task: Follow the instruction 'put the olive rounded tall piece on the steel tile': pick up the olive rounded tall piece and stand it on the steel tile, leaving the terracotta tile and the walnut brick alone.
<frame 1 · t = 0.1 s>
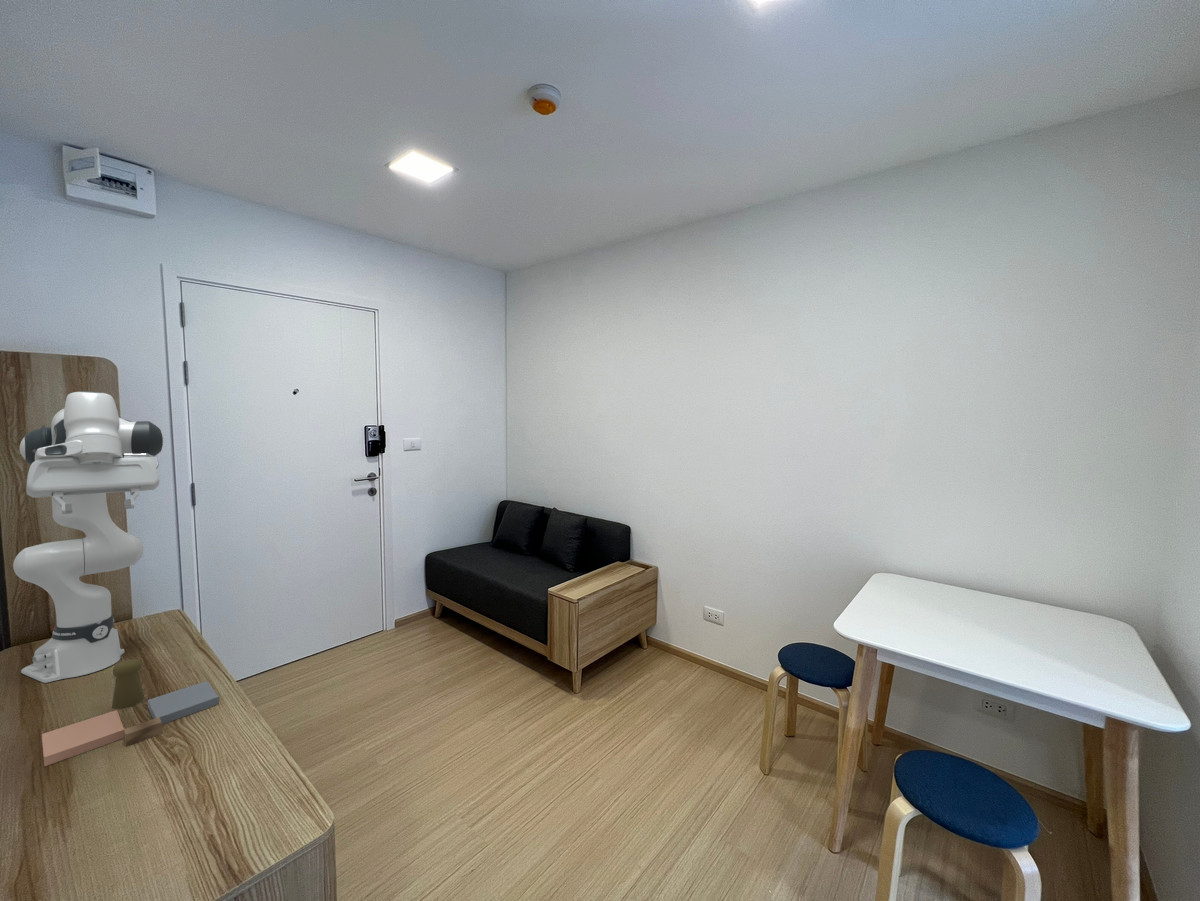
hand: (99, 510, 103), 54 cm above the table, tool tilted 30°, fingers open, 8 cm apart
terracotta tile: (83, 740, 108), on the table
walnut brick: (143, 738, 109), on the table
steel tile: (183, 705, 121), on the table
olive rounded tall piece: (128, 703, 122), on the table
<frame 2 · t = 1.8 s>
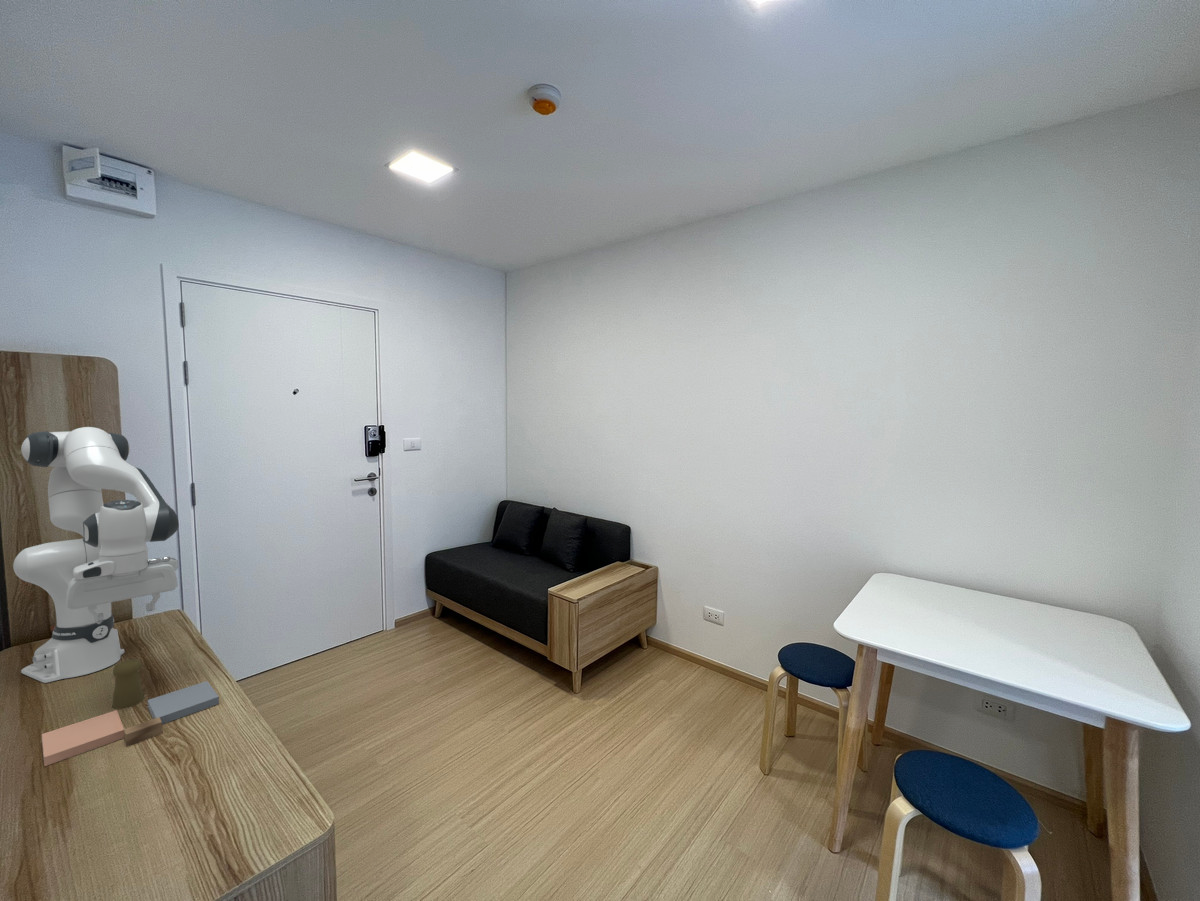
hand: (125, 615, 121), 23 cm above the table, tool pointing down, fingers open, 8 cm apart
nothing on the table moved.
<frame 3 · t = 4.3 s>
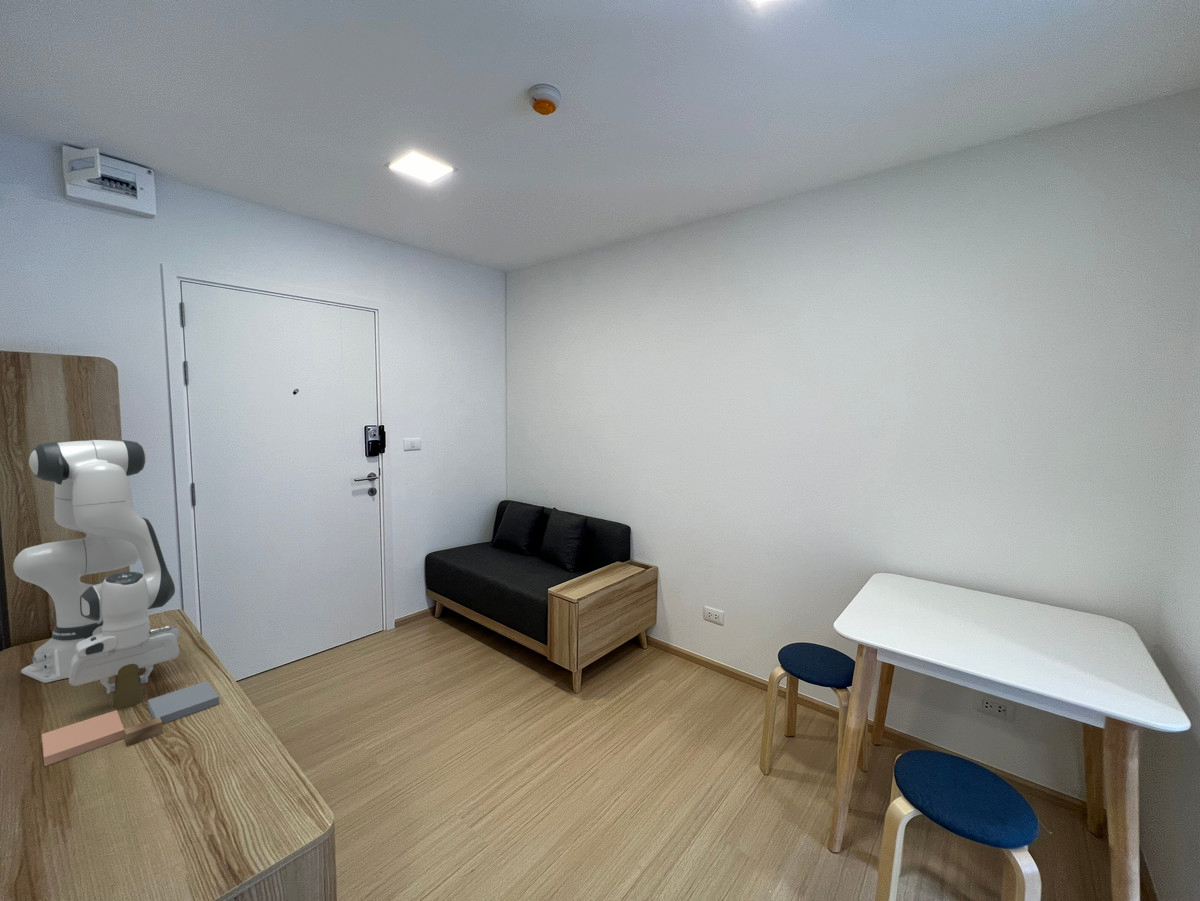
hand: (127, 687, 122), 4 cm above the table, tool pointing down, fingers closed on olive rounded tall piece, 5 cm apart
olive rounded tall piece: (128, 703, 122), on the table, touching gripper
everything else where it was.
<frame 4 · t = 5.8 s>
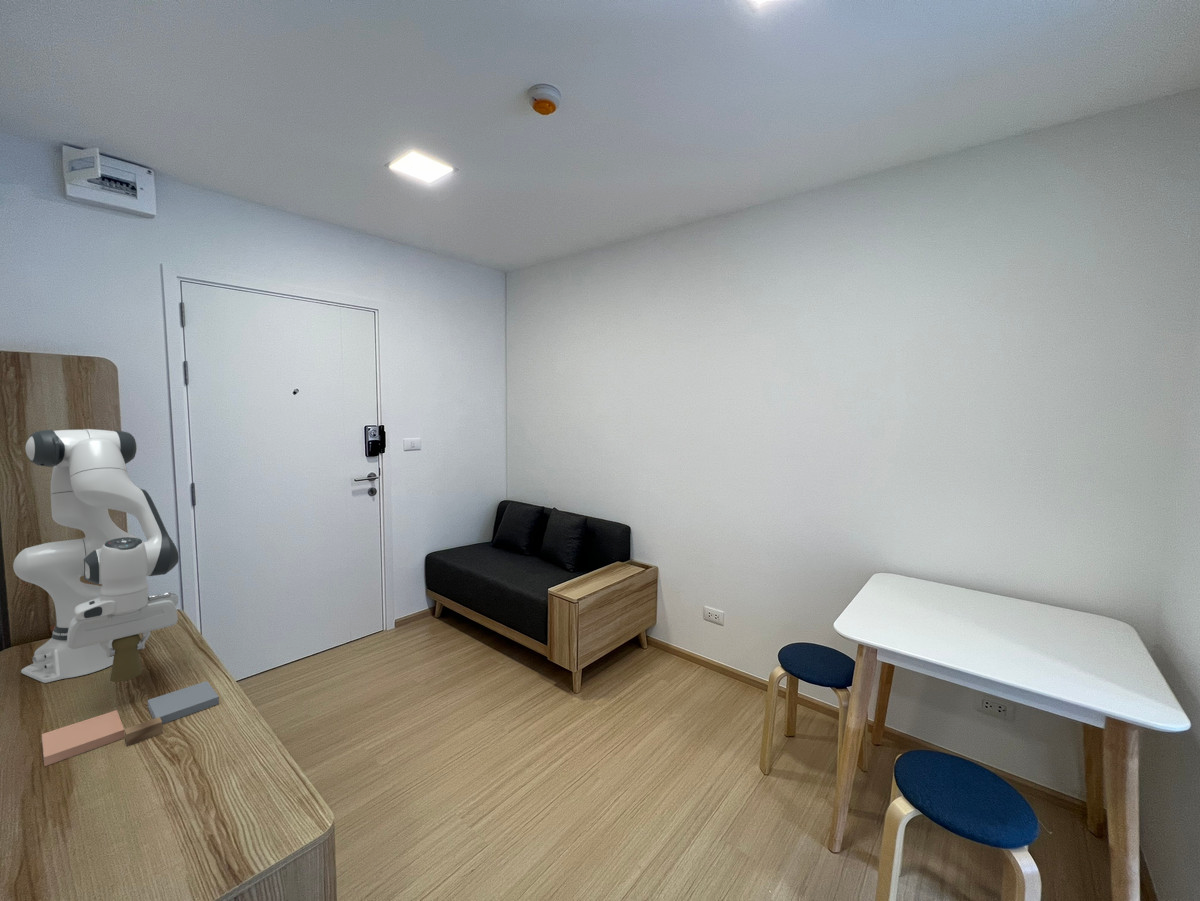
hand: (126, 652, 122), 13 cm above the table, tool pointing down, fingers closed on olive rounded tall piece, 4 cm apart
olive rounded tall piece: (126, 676, 123), point 7 cm above the table, touching gripper
everything else where it was.
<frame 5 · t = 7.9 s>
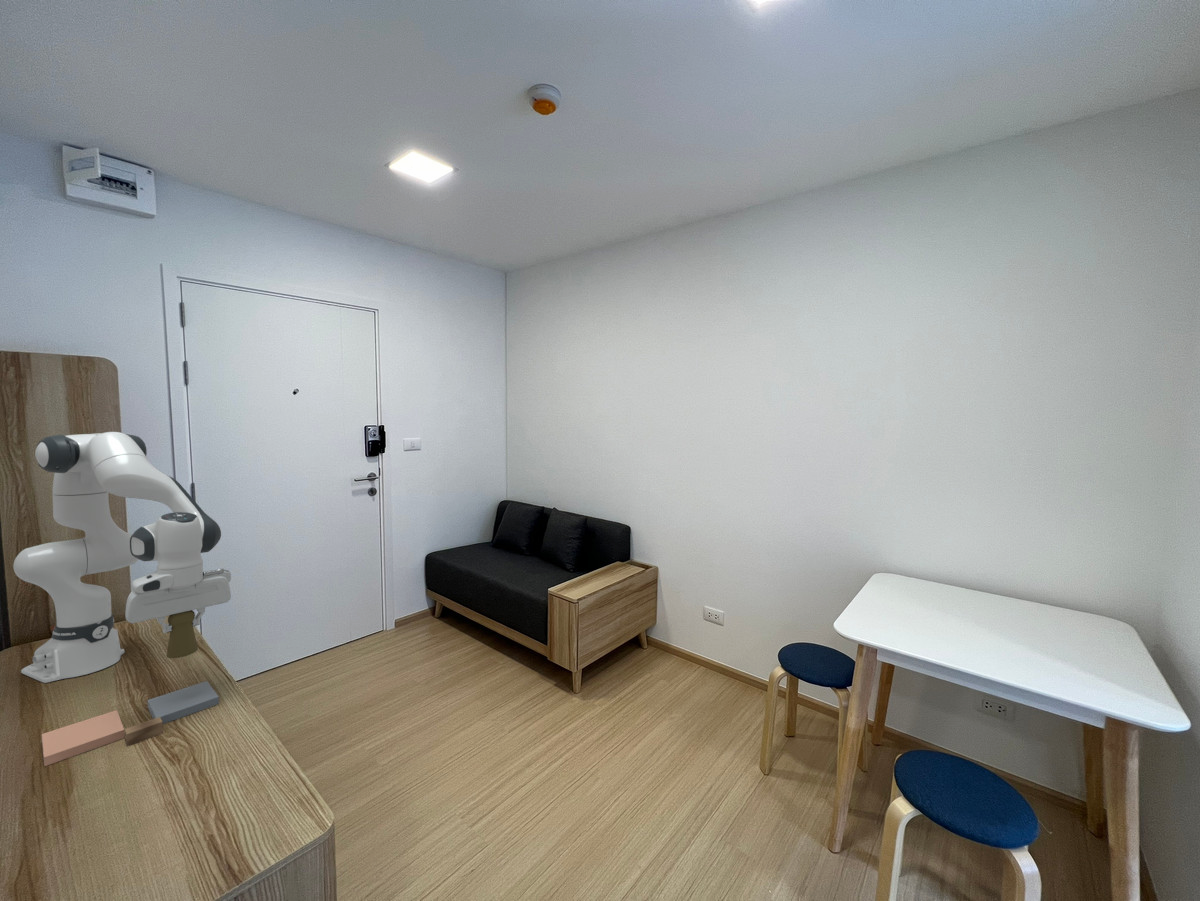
hand: (181, 628, 121), 21 cm above the table, tool pointing down, fingers closed on olive rounded tall piece, 4 cm apart
olive rounded tall piece: (182, 653, 121), point 14 cm above the table, touching gripper
everything else where it was.
when the fingers open (8 cm above the table, at t = 10.9 s): olive rounded tall piece stays where it is, resting on steel tile.
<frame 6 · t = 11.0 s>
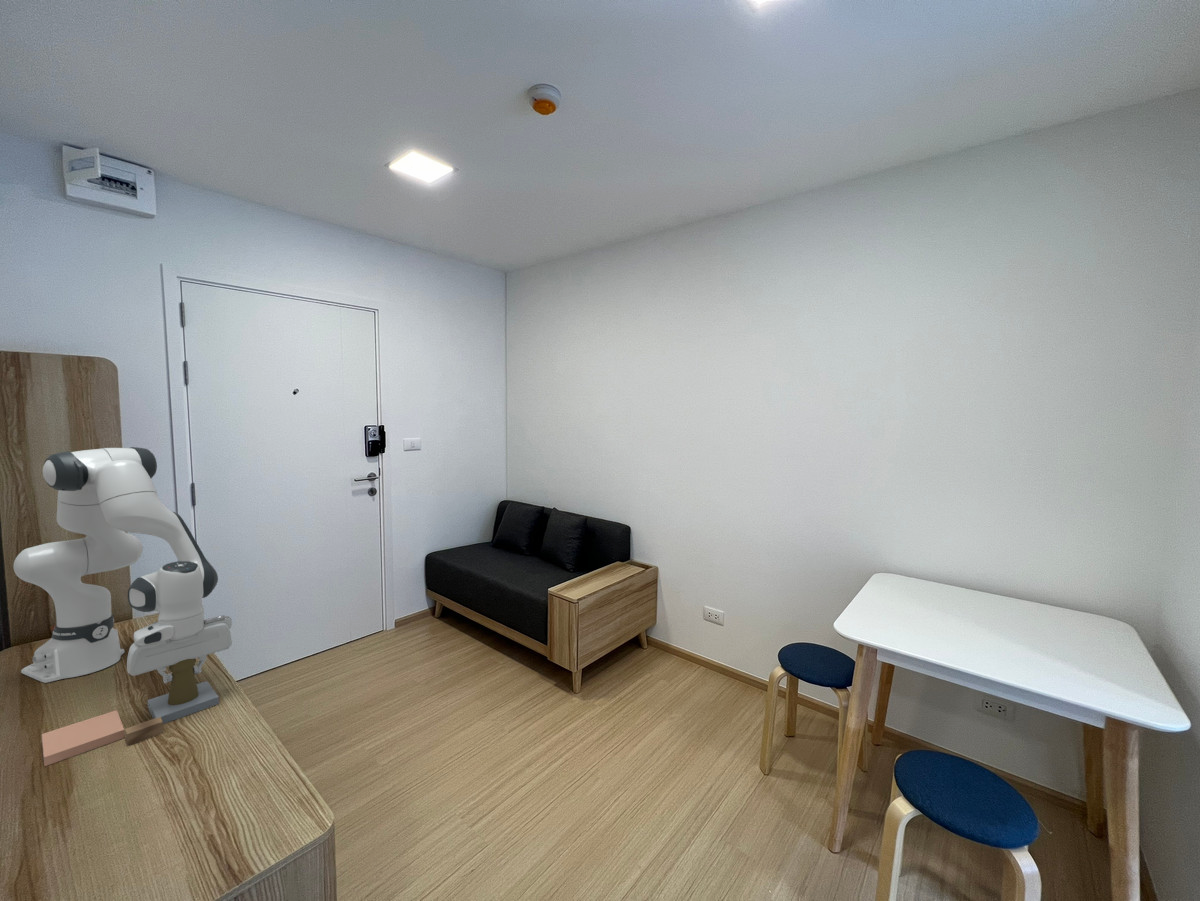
hand: (182, 677, 121), 8 cm above the table, tool pointing down, fingers open, 4 cm apart
olive rounded tall piece: (183, 699, 121), point 2 cm above the table, touching steel tile
everything else where it was.
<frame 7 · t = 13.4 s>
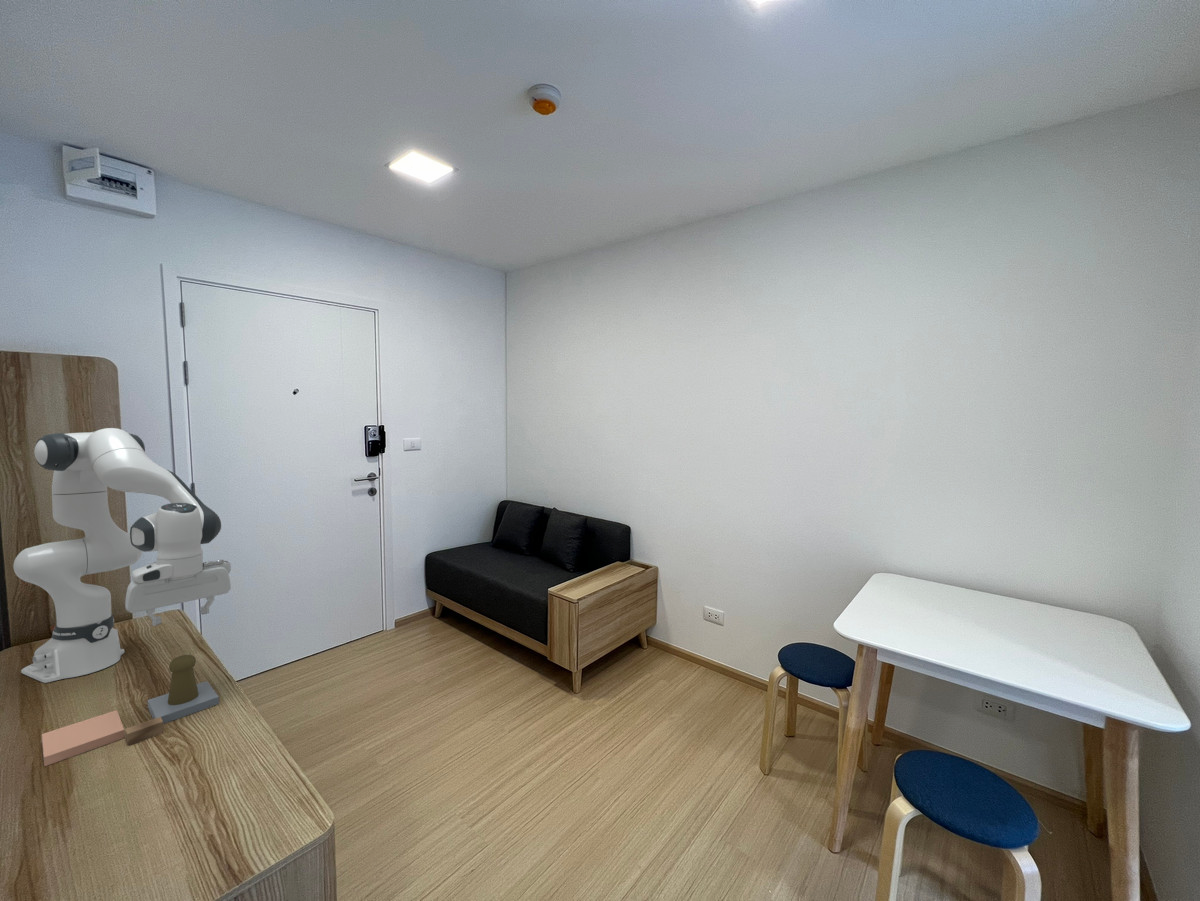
hand: (181, 618, 121), 23 cm above the table, tool pointing down, fingers open, 8 cm apart
nothing on the table moved.
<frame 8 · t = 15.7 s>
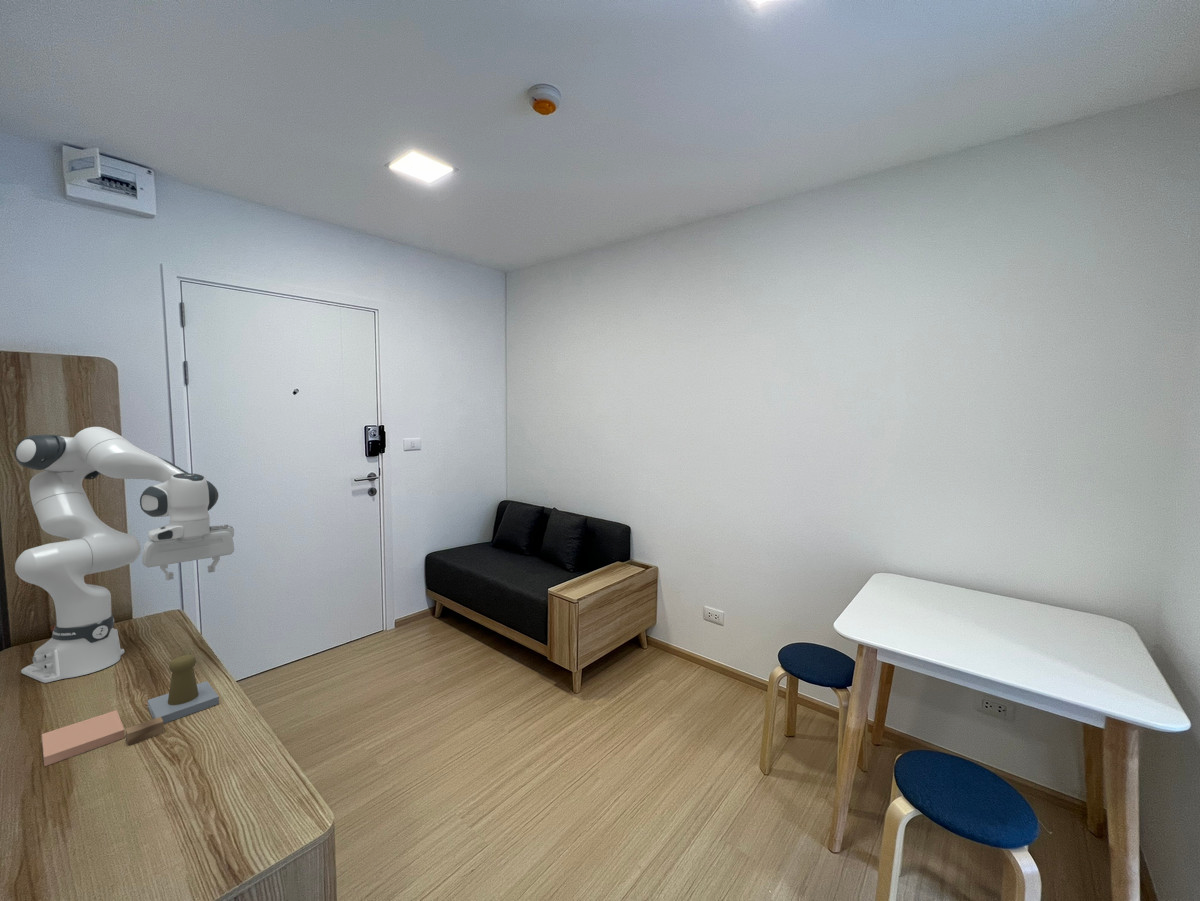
hand: (191, 575, 137), 29 cm above the table, tool pointing down, fingers open, 8 cm apart
nothing on the table moved.
at the end: olive rounded tall piece inside the target area on the steel tile (0.1 cm from its centre), point 1.8 cm above the steel tile's base; olive rounded tall piece tilted 0°; walnut brick moved 0.4 cm from its start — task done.
